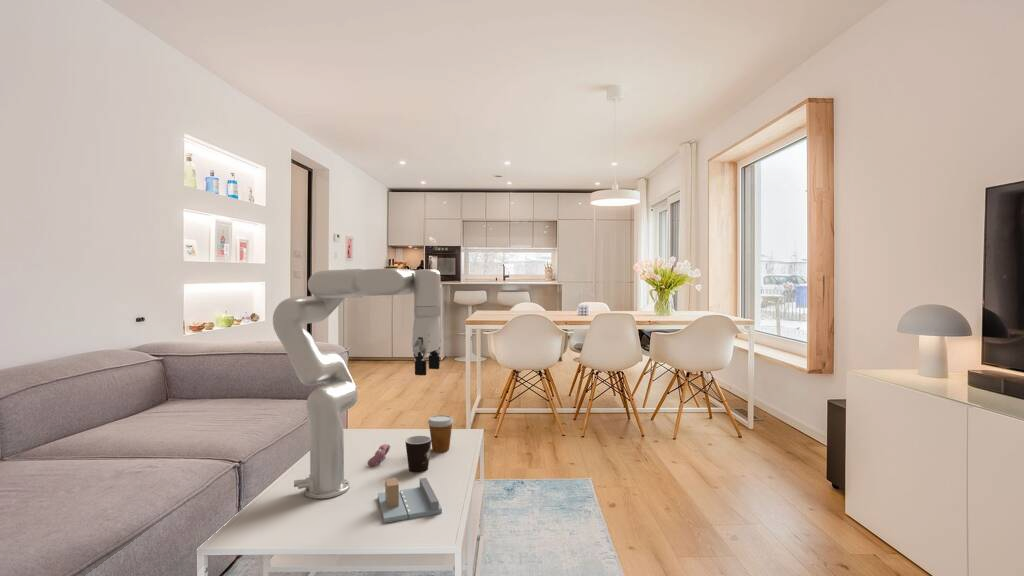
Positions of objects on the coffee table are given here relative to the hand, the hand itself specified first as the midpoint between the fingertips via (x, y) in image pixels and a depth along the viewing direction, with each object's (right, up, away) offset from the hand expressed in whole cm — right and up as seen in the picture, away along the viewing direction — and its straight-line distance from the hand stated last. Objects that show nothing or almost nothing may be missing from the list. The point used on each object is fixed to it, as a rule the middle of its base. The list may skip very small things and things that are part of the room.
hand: (427, 371), depth 138 cm
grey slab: (-9, -37, -4) cm, 39 cm away
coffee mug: (-6, -37, +25) cm, 45 cm away
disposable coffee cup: (-3, -37, +43) cm, 57 cm away
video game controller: (-22, -37, +31) cm, 53 cm away
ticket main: (-2, -37, -1) cm, 37 cm away
